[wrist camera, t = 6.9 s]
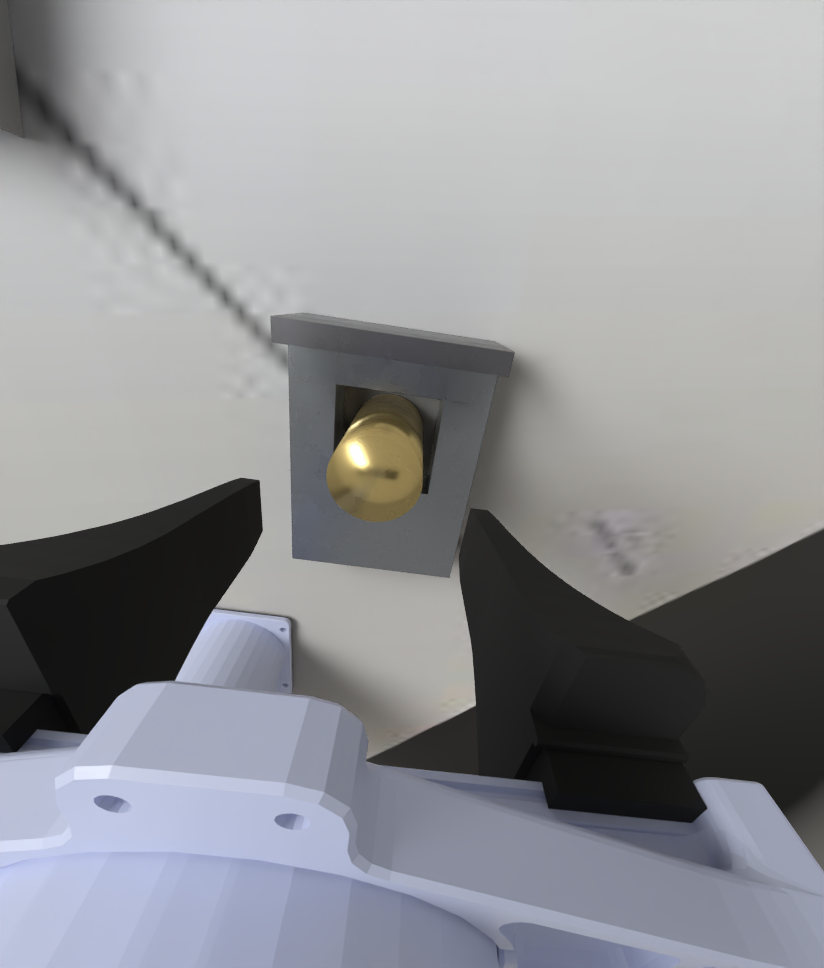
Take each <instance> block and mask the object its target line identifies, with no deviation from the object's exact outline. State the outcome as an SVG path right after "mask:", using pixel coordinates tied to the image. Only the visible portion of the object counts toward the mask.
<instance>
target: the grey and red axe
mask: <svg viewBox="0 0 824 968" xmlns="http://www.w3.org/2000/svg"><path fill="white" fill-rule="evenodd" d="M0 129H3V130H5V131H8V132H10V133H13V134H15V135H18V136H21V137H23V138H24V135H23V127H22V118H21V110H20V101H19V93H18V84H17V76H16V67H15V59H14V50H13V42H12V33H11V25H10V16H9V8H8V0H0Z"/></svg>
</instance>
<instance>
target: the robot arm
mask: <svg viewBox="0 0 824 968" xmlns="http://www.w3.org/2000/svg"><path fill="white" fill-rule="evenodd" d="M262 531H263V527H262V512H261V497H260V482H259V480H254V479H246V478H239V479H235V480H232V481H230V482H227V483H224V484H222V485H219V486H217V487H214V488H212V489H210V490H207V491H205V492H202V493H200V494H197V495H195V496H192V497H190V498H187V499H185V500H182V501H179V502H177V503H174V504H171V505H168V506H166V507H163V508H160V509H158V510H155V511H152V512H149V513H146V514H143V515H140V516H136V517H133V518H130V519H126V520H123V521H119V522H116V523H112V524H108V525H104V526H100V527H95V528H91V529H87V530H82V531H78V532H73V533H69V534H65V535H59V536H54V537H49V538H43V539H38V540H31V541H25V542H19V543H13V544H6V545H0V968H824V872H823V870H822V869H821V867H820V866H819V865H818V863H817V862H816V860H815V859H814V857H813V856H812V855H811V853H810V852H809V850H808V849H807V848H806V846H805V845H804V843H803V842H802V840H801V839H800V837H799V836H798V835H797V833H796V832H795V830H794V829H793V828H792V826H791V825H790V823H789V822H788V821H787V819H786V818H785V816H784V815H783V813H782V812H781V810H780V809H779V808H778V806H777V805H776V803H775V802H774V801H773V799H772V798H771V796H770V795H769V793H768V792H767V790H766V789H765V788H764V786H763V785H762V784H759V783H757V782H751V781H742V780H732V779H723V778H714V777H711V778H710V777H708V778H701V779H697V780H694V781H693V782H692V780H691V778H690V776H689V775H688V773H687V771H686V769H685V767H684V766H683V764H682V763H686V762H687V761H688V754H687V752H686V751H685V749H684V747H683V746H682V744H681V742H680V740H679V737H680V736H681V735H682V734H683V733H684V732H685V730H686V729H687V728H688V727H689V725H690V724H691V723H692V722H693V721H694V720H695V719H696V717H697V716H698V715H699V714H700V712H701V711H702V709H703V707H704V706H705V704H706V701H707V695H708V688H707V685H706V682H705V680H704V678H703V677H702V676H701V675H700V673H699V672H698V670H697V669H696V668H695V666H694V665H693V664H692V662H691V661H690V660H689V658H688V657H687V656H686V654H685V653H684V651H683V650H682V649H681V647H680V646H679V645H678V644H676V643H674V642H672V641H669V640H667V639H665V638H663V637H661V636H659V635H657V634H655V633H652V632H650V631H648V630H646V629H644V628H642V627H640V626H637V625H635V624H633V623H632V622H630V621H628V620H626V619H624V618H622V617H620V616H619V615H617V614H615V613H613V612H611V611H609V610H608V609H606V608H604V607H603V606H601V605H599V604H598V603H596V602H594V601H593V600H591V599H590V598H588V597H587V596H585V595H583V594H582V593H580V592H579V591H577V590H576V589H574V588H573V587H571V586H570V585H569V584H567V583H566V582H564V581H563V580H562V579H560V578H559V577H558V576H557V575H555V574H554V573H553V572H551V571H550V570H549V569H548V568H546V567H545V566H544V565H543V564H542V563H540V562H539V561H538V560H537V559H536V558H535V557H534V556H533V555H532V554H530V553H529V552H528V551H527V550H526V549H525V548H524V547H523V546H522V545H521V544H520V543H519V542H518V541H517V540H516V539H515V538H514V537H513V536H512V535H511V534H510V533H509V532H508V531H507V530H506V529H505V527H504V526H503V525H502V524H501V523H500V522H499V521H498V520H497V519H496V518H495V517H494V516H493V515H492V514H491V513H490V512H489V511H487V510H479V509H472V508H471V510H470V514H469V518H468V522H467V526H466V530H465V534H464V538H463V542H462V546H461V550H460V554H459V569H460V583H461V589H462V595H463V600H464V606H465V611H466V616H467V622H468V627H469V633H470V638H471V645H472V653H473V666H474V679H475V695H476V711H477V733H478V756H479V758H478V759H479V776H477V775H468V774H459V773H449V772H440V771H430V770H420V769H411V768H401V767H391V766H381V765H376V764H373V763H369V762H366V756H367V748H368V738H367V735H366V732H365V729H364V726H363V723H362V722H361V721H360V719H359V718H358V717H356V716H355V715H354V714H352V713H351V712H350V711H348V710H347V709H346V708H344V707H343V706H342V705H340V704H338V703H335V702H331V701H327V700H324V699H320V698H316V697H313V696H306V695H297V694H291V693H292V690H293V683H292V645H291V621H290V620H289V619H288V618H285V617H277V616H269V615H260V614H252V613H244V612H235V611H227V610H219V609H214V608H215V607H216V605H217V604H218V602H219V601H220V599H221V598H222V596H223V595H224V594H225V592H226V591H227V589H228V588H229V586H230V585H231V583H232V582H233V581H234V579H235V578H236V576H237V575H238V573H239V572H240V570H241V569H242V568H243V566H244V565H245V563H246V562H247V560H248V559H249V557H250V556H251V554H252V552H253V550H254V548H255V546H256V544H257V542H258V540H259V538H260V535H261V533H262Z"/></svg>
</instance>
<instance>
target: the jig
mask: <svg viewBox="0 0 824 968" xmlns="http://www.w3.org/2000/svg"><path fill="white" fill-rule="evenodd" d="M271 340H272V342H273V343H280V344H287V345H288V366H289V413H290V461H291V509H292V556H293V558H295V559H303V560H311V561H319V562H327V563H335V564H343V565H351V566H359V567H367V568H375V569H383V570H391V571H399V572H407V573H415V574H423V575H431V576H439V577H447V578H449V577H450V573H451V569H452V564H453V560H454V556H455V552H456V548H457V544H458V540H459V535H460V531H461V527H462V523H463V519H464V515H465V510H466V506H467V502H468V498H469V494H470V490H471V485H472V481H473V477H474V473H475V469H476V465H477V461H478V456H479V452H480V448H481V444H482V440H483V436H484V431H485V427H486V423H487V419H488V415H489V411H490V406H491V402H492V398H493V394H494V390H495V386H496V382H497V377H498V376H504V377H509V373H510V369H511V365H512V361H513V357H514V353H515V352H513V351H511V350H509V349H508V348H506V347H504V346H502V345H500V344H499V343H497V342H495V341H488V340H482V339H475V338H468V337H462V336H455V335H448V334H442V333H435V332H429V331H422V330H415V329H409V328H402V327H395V326H389V325H382V324H376V323H369V322H362V321H356V320H349V319H342V318H336V317H329V316H322V315H316V314H309V313H295V314H285V315H274V316H271ZM345 385H346V386H352V387H359V388H366V389H373V390H380V391H387V392H394V393H401V394H408V395H415V396H422V397H429V398H436V399H441V400H440V406H439V412H438V417H437V423H436V429H435V434H434V440H433V446H432V452H431V457H430V463H429V469H428V475H423V484H422V490H421V494H420V496H419V499H418V500H417V502H416V504H415V505H414V506H413V507H412V508H411V509H410V510H409V511H408V512H407V513H405V514H404V515H402V516H400V517H399V518H396V519H393V520H390V521H384V522H370V521H365V520H362V519H358V518H356V517H354V516H352V515H350V514H348V513H347V512H346V511H344V510H343V509H342V508H341V507H340V506H339V505H338V504H337V503H336V502H335V500H334V499H333V497H332V496H331V494H330V492H329V489H328V486H327V479H326V473H327V467H328V463H329V461H330V459H331V457H332V455H333V454H334V452H335V450H336V449H337V447H338V445H339V443H340V442H341V440H342V438H343V420H344V400H345Z"/></svg>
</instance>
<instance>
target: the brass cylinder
mask: <svg viewBox="0 0 824 968" xmlns="http://www.w3.org/2000/svg"><path fill="white" fill-rule="evenodd" d="M326 479H327V486H328V489H329V492H330V494H331V496H332V497H333V499H334V500H335V502H336V503H337V504H338V505H339V506H340V507H341V508H342V509H343V510H344V511H346V512H347V513H348V514H350V515H352V516H354V517H356V518H358V519H362V520H365V521H370V522H384V521H390V520H393V519H396V518H399V517H400V516H402V515H404V514H405V513H407V512H408V511H409V510H410V509H411V508H412V507H413V506H414V505H415V504H416V502H417V500H418V499H419V496H420V494H421V490H422V484H423V422H422V418H421V415H420V413H419V411H418V410H417V408H416V407H415V406H414V405H413V404H412V403H411V402H410V401H408V400H407V399H405V398H403V397H401V396H398V395H394V394H382V395H377V396H375V397H373V398H371V399H369V400H368V401H366V402H365V403H364V404H363V405H362V407H361V408H360V410H359V411H358V413H357V415H356V416H355V418H354V420H353V421H352V423H351V425H350V427H349V428H348V430H347V432H346V433H345V435H344V437H343V438H342V440H341V442H340V443H339V445H338V447H337V449H336V450H335V452H334V454H333V455H332V457H331V459H330V461H329V463H328V467H327V473H326Z"/></svg>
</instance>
